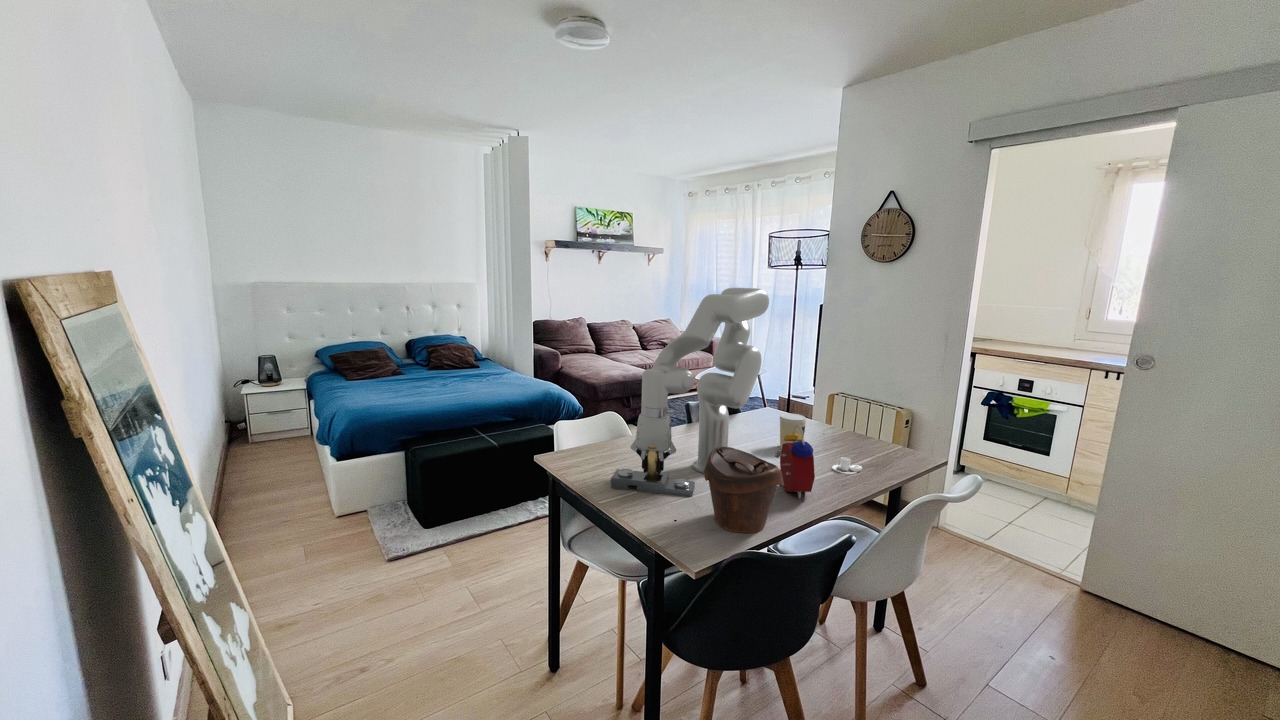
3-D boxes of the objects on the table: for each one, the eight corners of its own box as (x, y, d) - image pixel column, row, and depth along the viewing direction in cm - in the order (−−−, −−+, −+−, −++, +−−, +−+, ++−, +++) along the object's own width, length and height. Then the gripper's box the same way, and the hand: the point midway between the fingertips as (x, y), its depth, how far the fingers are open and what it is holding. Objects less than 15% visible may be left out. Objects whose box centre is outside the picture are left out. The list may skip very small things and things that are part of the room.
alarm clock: (813, 502, 143) (818, 433, 140) (782, 501, 143) (786, 433, 140) (798, 481, 157) (802, 418, 154) (770, 480, 158) (773, 418, 154)
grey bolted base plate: (694, 485, 153) (695, 472, 152) (691, 497, 145) (692, 483, 145) (617, 478, 158) (617, 465, 157) (610, 488, 150) (610, 475, 150)
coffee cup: (807, 452, 184) (809, 420, 182) (781, 452, 184) (783, 419, 182) (800, 444, 193) (802, 413, 191) (775, 443, 193) (777, 412, 191)
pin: (661, 476, 153) (662, 441, 151) (658, 482, 148) (660, 446, 146) (646, 474, 154) (646, 439, 152) (642, 480, 149) (643, 444, 147)
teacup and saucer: (863, 471, 168) (865, 459, 167) (855, 477, 162) (856, 465, 161) (837, 464, 174) (838, 452, 173) (828, 470, 168) (828, 458, 167)
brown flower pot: (785, 543, 120) (789, 471, 118) (700, 535, 124) (702, 465, 121) (778, 510, 138) (782, 446, 135) (703, 503, 141) (706, 441, 138)
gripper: (684, 410, 150) (682, 470, 153) (629, 406, 153) (628, 464, 156) (681, 417, 142) (678, 479, 145) (623, 412, 146) (622, 473, 149)
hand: (652, 471), depth 151 cm, fingers closed on pin, 3 cm apart
